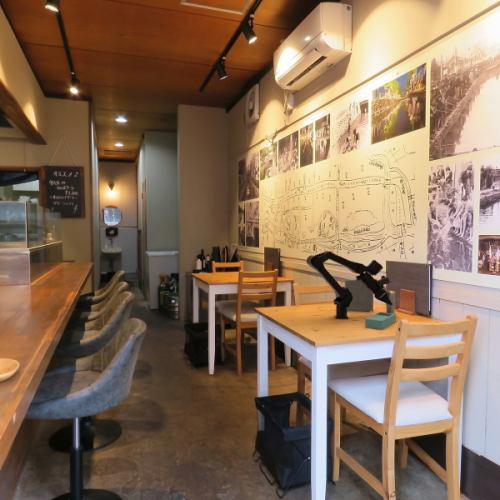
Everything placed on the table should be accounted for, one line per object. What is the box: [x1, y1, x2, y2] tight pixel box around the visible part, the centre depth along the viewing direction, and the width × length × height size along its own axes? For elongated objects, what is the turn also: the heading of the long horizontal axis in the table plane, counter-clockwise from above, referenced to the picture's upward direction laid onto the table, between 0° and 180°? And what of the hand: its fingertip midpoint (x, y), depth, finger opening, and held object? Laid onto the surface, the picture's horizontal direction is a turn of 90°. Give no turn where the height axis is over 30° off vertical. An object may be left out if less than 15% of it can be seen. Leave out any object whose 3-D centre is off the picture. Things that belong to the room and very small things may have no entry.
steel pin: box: [385, 290, 396, 314], centre depth 215 cm, size 4×4×14 cm
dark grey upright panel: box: [344, 279, 374, 312], centre depth 234 cm, size 16×4×20 cm, turn 77°
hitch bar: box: [364, 311, 397, 330], centre depth 200 cm, size 20×8×4 cm, turn 143°
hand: (391, 303), depth 215 cm, fingers open, 9 cm apart
